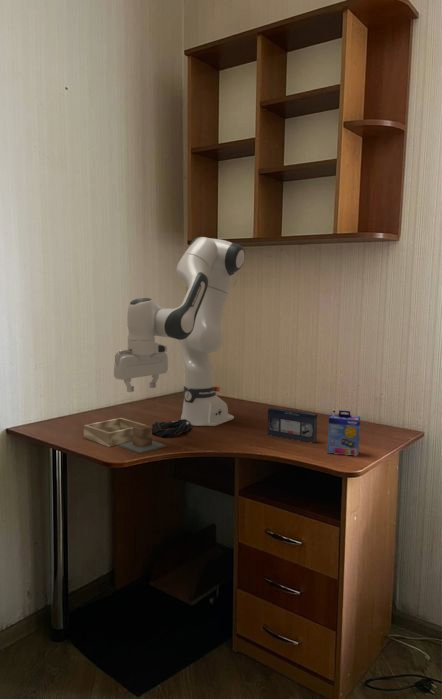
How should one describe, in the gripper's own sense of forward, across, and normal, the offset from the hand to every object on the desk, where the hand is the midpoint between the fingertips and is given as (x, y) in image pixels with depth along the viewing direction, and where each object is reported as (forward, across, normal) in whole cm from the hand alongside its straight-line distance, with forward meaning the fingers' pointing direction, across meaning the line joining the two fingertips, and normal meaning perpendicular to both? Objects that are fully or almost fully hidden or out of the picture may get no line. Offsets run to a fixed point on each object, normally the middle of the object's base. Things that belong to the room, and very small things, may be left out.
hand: (141, 389), depth 180 cm
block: (+18, 0, 0) cm, 19 cm away
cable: (+20, +18, +7) cm, 28 cm away
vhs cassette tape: (+20, +43, -30) cm, 56 cm away
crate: (+19, 0, +14) cm, 24 cm away
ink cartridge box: (+20, +41, -52) cm, 69 cm away
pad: (+19, 0, -1) cm, 19 cm away
